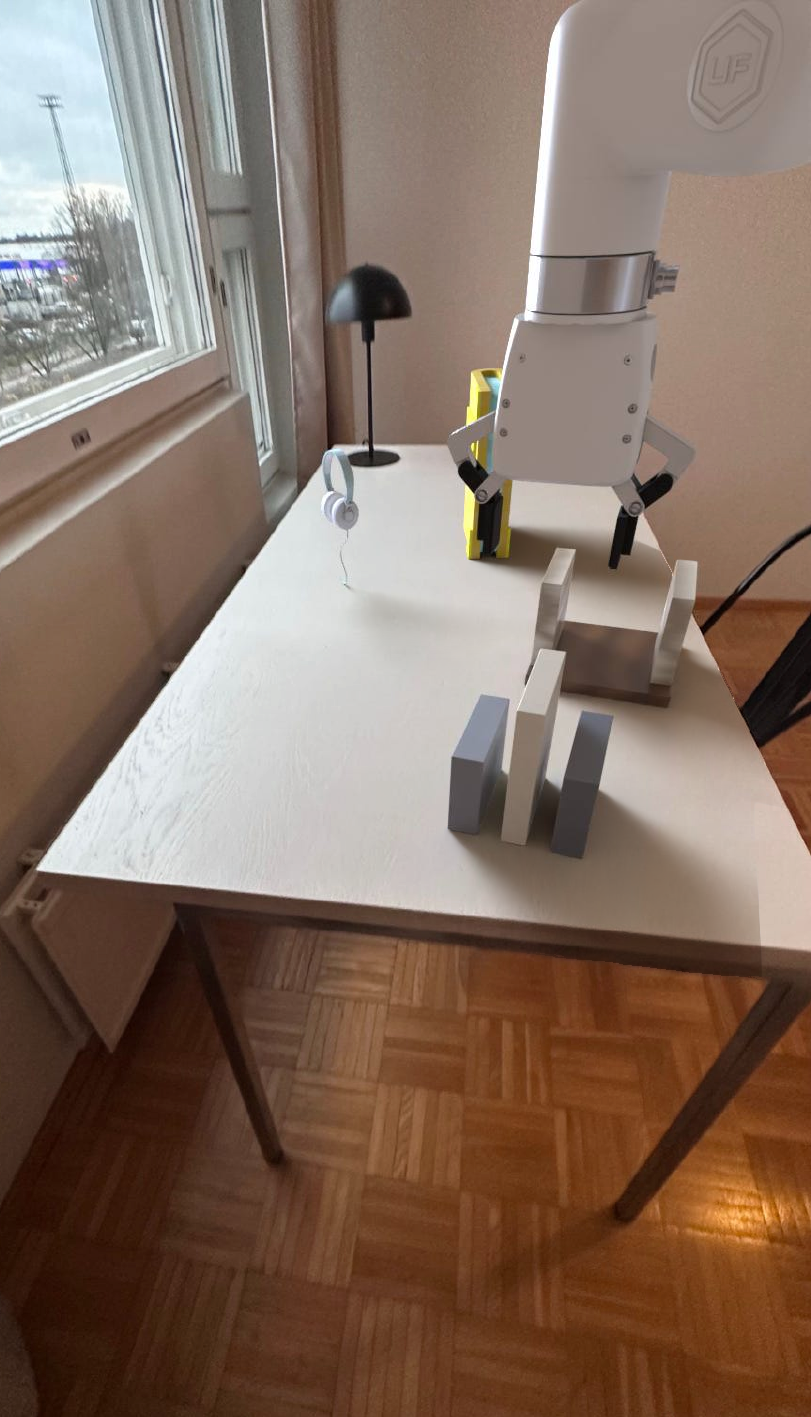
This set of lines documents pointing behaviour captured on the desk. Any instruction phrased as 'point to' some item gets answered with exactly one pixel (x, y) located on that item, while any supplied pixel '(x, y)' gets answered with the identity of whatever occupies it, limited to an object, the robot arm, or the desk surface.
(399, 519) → the desk surface
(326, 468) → the headphones
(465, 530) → the book
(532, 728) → the thin book
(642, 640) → the letter rack
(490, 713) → the grey books
